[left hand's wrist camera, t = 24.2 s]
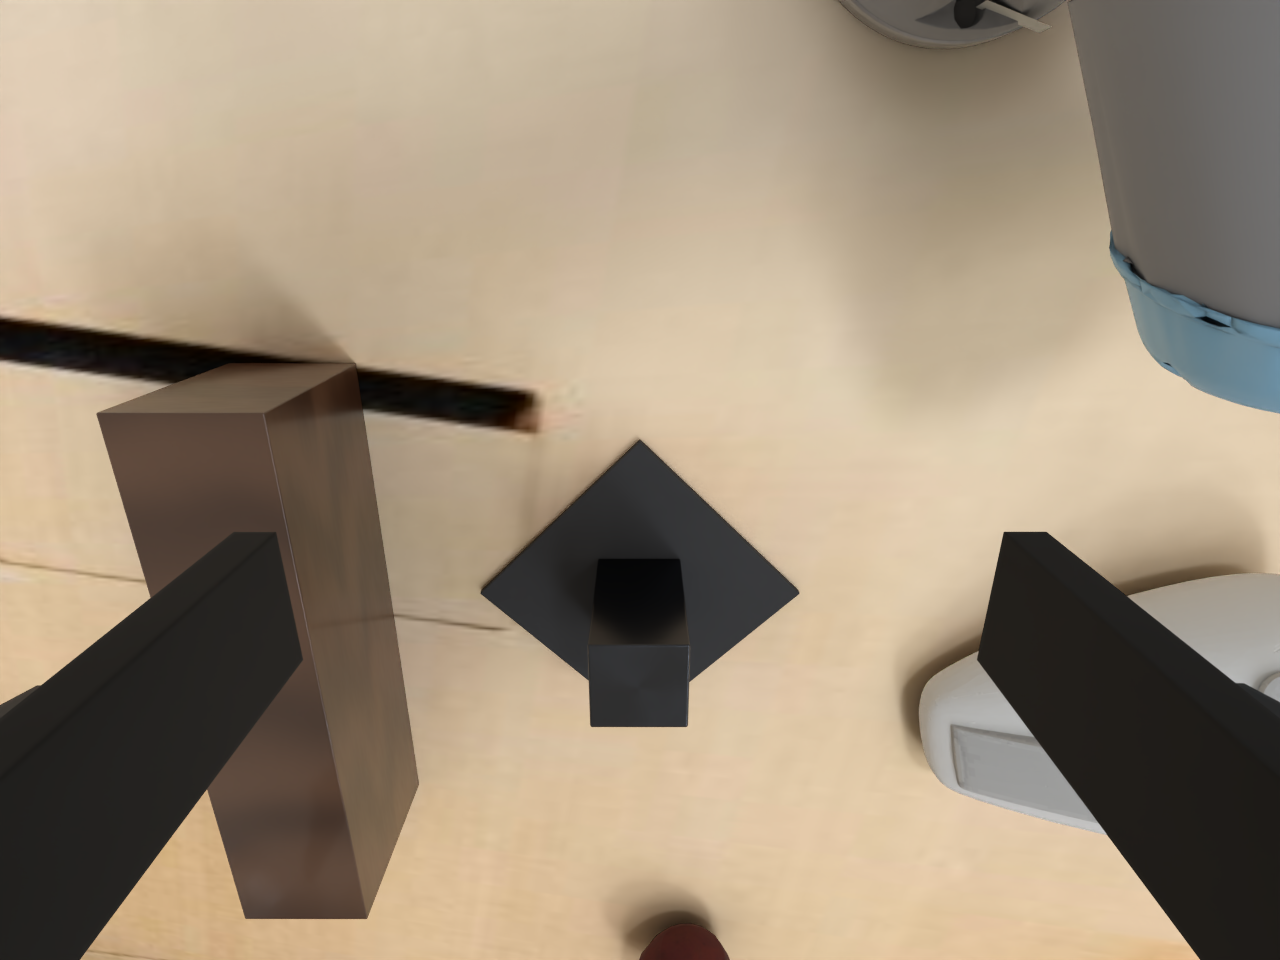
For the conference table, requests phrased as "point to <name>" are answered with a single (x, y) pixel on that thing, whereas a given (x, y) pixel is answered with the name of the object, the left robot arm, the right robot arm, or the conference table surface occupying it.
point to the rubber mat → (640, 529)
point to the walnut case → (323, 611)
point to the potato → (685, 945)
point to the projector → (1011, 756)
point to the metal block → (639, 645)
